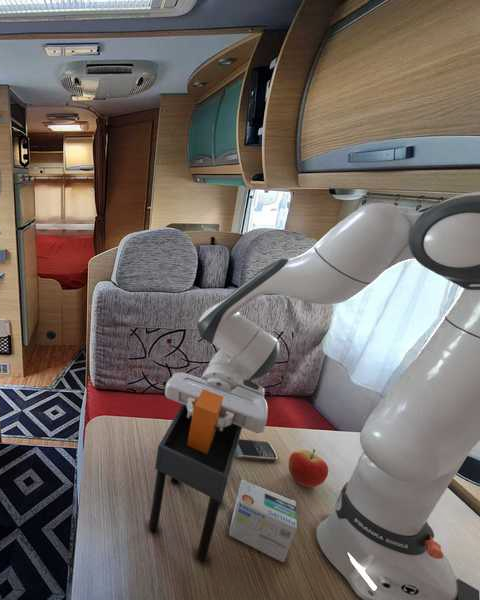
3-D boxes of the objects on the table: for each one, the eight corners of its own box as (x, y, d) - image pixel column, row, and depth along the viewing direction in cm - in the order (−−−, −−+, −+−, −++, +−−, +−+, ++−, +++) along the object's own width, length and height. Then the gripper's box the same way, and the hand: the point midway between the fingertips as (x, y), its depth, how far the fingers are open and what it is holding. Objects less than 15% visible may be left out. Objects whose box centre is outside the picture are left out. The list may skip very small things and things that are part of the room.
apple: (279, 479, 84) (289, 449, 81) (290, 462, 89) (300, 434, 86) (315, 501, 79) (328, 471, 75) (325, 482, 84) (337, 453, 80)
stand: (222, 501, 78) (236, 444, 72) (204, 564, 66) (220, 501, 59) (172, 476, 84) (181, 421, 78) (147, 529, 72) (156, 468, 65)
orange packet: (214, 435, 68) (223, 396, 64) (207, 454, 64) (216, 413, 60) (195, 427, 70) (202, 389, 67) (186, 445, 66) (194, 405, 62)
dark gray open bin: (238, 444, 72) (243, 422, 69) (221, 502, 59) (227, 478, 57) (181, 420, 78) (184, 400, 76) (155, 468, 65) (158, 445, 63)
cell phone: (278, 462, 89) (279, 458, 89) (236, 459, 90) (237, 455, 89) (268, 445, 95) (269, 441, 94) (229, 441, 96) (229, 438, 95)
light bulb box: (284, 535, 71) (297, 500, 67) (284, 565, 66) (298, 529, 62) (231, 510, 76) (241, 476, 72) (227, 536, 71) (237, 501, 67)
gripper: (177, 360, 79) (156, 389, 68) (273, 391, 69) (265, 431, 58) (174, 381, 81) (152, 413, 71) (266, 415, 71) (257, 457, 60)
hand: (204, 421), depth 64 cm, fingers closed on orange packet, 4 cm apart
